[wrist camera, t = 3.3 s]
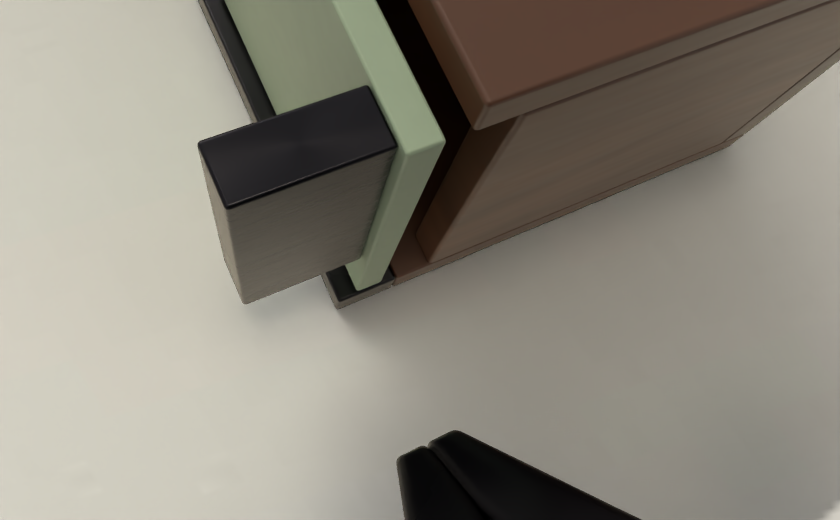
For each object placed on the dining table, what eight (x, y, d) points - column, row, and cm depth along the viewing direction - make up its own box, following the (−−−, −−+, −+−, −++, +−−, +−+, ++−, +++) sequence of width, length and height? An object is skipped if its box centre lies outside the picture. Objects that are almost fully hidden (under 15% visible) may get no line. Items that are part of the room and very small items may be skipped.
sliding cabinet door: (382, 281, 17) (448, 140, 10) (251, 336, 16) (230, 221, 10) (239, -26, 19) (216, -322, 12) (114, 10, 18) (13, -287, 11)
